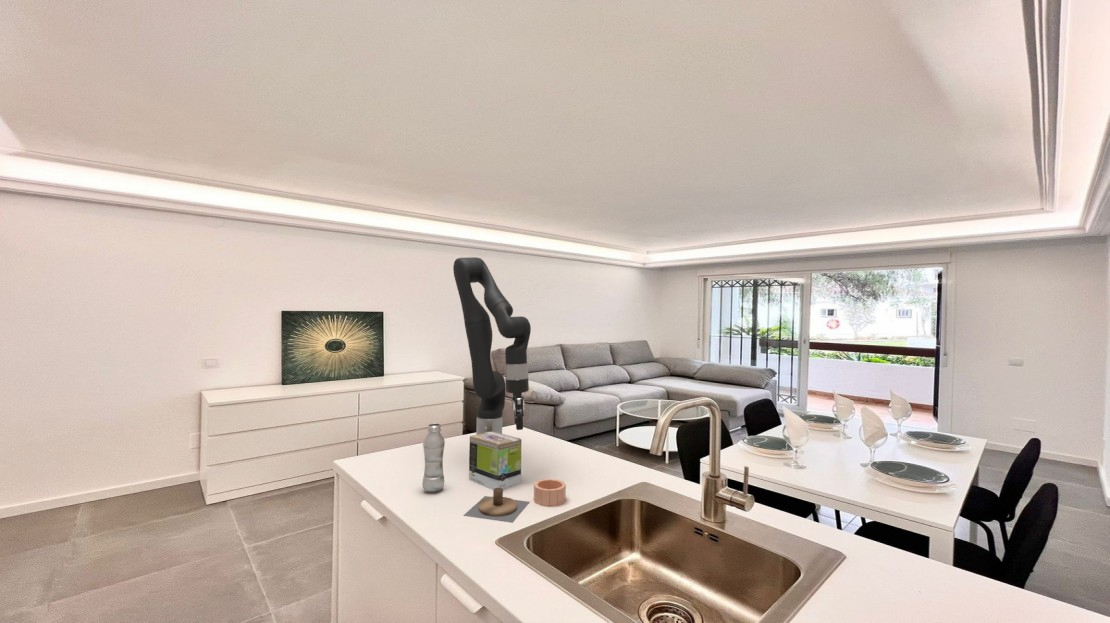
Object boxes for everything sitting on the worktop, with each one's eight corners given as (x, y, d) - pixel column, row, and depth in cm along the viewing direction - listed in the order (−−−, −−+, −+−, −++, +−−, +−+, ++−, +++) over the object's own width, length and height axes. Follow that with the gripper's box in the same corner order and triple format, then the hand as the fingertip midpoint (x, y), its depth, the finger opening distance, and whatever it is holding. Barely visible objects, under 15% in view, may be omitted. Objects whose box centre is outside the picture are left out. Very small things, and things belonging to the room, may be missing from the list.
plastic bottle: (449, 488, 144) (450, 423, 144) (434, 496, 138) (435, 428, 138) (432, 485, 147) (433, 421, 147) (417, 492, 140) (418, 426, 141)
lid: (472, 513, 125) (472, 494, 125) (488, 499, 135) (488, 481, 135) (508, 518, 123) (508, 498, 123) (521, 503, 133) (522, 485, 133)
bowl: (529, 505, 132) (530, 488, 132) (539, 494, 141) (539, 477, 141) (560, 509, 130) (560, 491, 130) (568, 497, 139) (568, 480, 139)
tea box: (522, 484, 148) (522, 438, 148) (497, 493, 141) (498, 444, 141) (491, 473, 159) (492, 429, 159) (467, 480, 151) (468, 435, 151)
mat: (463, 516, 124) (463, 515, 124) (484, 497, 138) (484, 495, 138) (512, 524, 120) (512, 522, 120) (529, 503, 134) (529, 501, 134)
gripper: (504, 375, 160) (506, 422, 160) (506, 380, 146) (508, 432, 146) (526, 373, 161) (528, 420, 161) (530, 379, 147) (532, 430, 147)
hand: (518, 426), depth 153 cm, fingers open, 8 cm apart
